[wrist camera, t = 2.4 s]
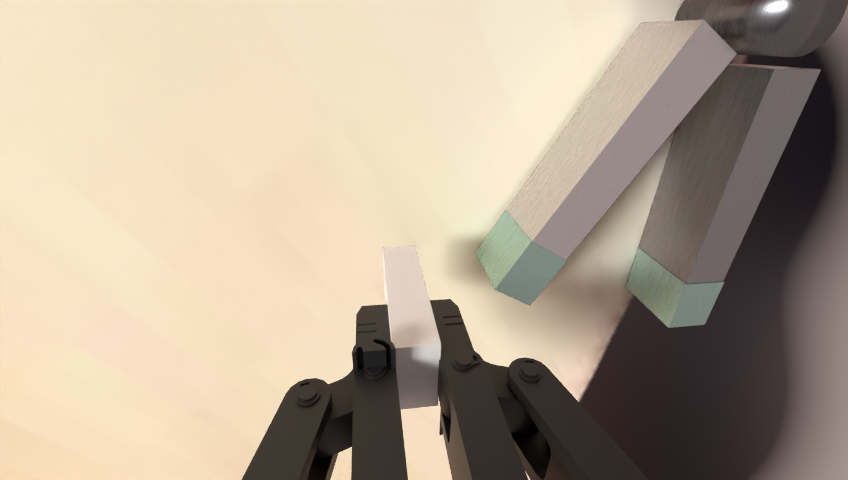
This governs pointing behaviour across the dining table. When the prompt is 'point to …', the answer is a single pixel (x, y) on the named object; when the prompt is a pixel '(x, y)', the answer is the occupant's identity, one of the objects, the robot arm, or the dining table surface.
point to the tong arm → (602, 151)
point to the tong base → (726, 152)
